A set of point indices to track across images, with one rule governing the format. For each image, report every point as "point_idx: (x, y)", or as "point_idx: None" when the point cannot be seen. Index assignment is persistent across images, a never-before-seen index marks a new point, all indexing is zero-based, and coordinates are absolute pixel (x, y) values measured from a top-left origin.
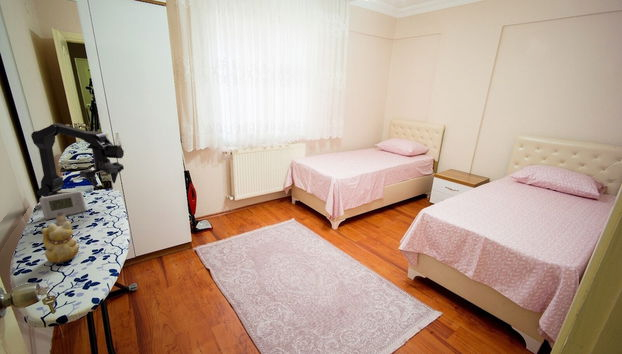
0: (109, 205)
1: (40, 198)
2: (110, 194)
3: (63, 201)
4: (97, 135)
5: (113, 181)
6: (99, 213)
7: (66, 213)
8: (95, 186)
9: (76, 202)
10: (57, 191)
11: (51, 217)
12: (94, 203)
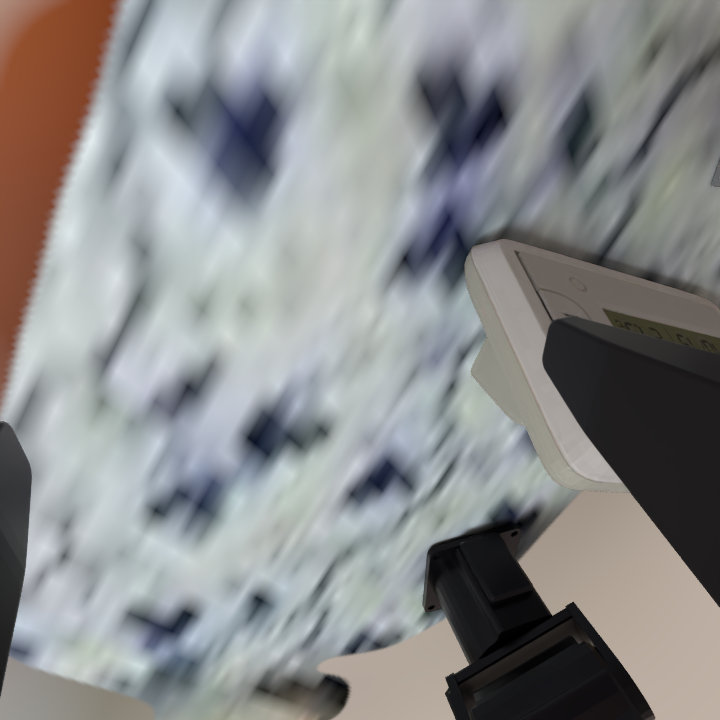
0: (214, 213)
1: None
2: (37, 542)
3: None
4: None
5: (2, 490)
6: (443, 40)
7: (622, 279)
8: (637, 333)
9: None
10: (480, 660)
11: (694, 295)
12: (294, 399)
